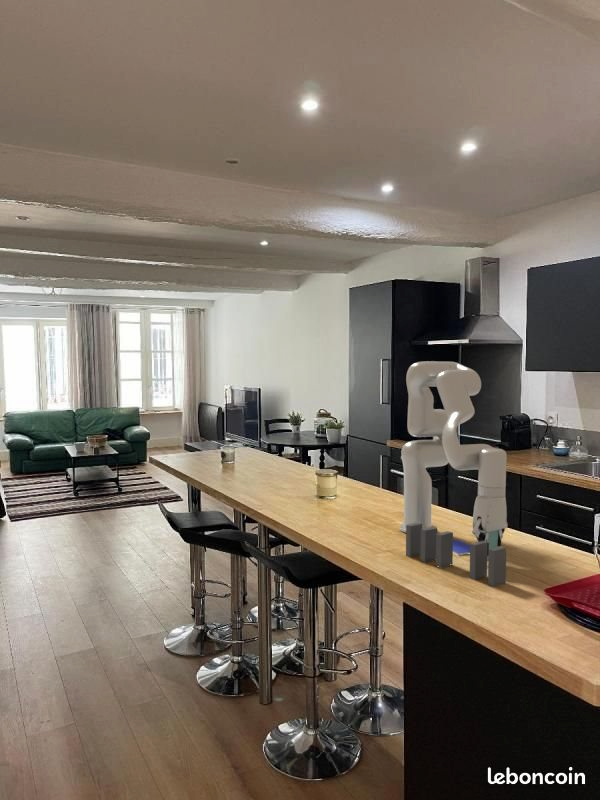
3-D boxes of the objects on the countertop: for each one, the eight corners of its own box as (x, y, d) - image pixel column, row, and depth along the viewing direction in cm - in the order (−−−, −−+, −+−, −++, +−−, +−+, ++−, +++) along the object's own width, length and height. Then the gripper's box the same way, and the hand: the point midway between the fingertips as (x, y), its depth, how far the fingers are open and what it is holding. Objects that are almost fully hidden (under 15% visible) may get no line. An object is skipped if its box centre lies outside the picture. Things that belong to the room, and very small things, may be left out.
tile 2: (420, 561, 179) (420, 529, 179) (432, 558, 182) (432, 526, 182) (425, 562, 178) (425, 530, 177) (436, 559, 181) (437, 528, 180)
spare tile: (481, 560, 175) (482, 527, 175) (492, 556, 178) (493, 525, 177) (486, 561, 174) (487, 529, 173) (497, 558, 177) (498, 526, 176)
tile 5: (469, 578, 164) (470, 543, 164) (481, 574, 167) (482, 540, 167) (474, 580, 163) (475, 545, 163) (486, 576, 166) (487, 542, 165)
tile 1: (405, 555, 184) (406, 524, 184) (417, 553, 187) (417, 522, 186) (410, 557, 183) (410, 526, 182) (421, 554, 185) (422, 523, 185)
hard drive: (436, 541, 196) (458, 552, 184) (458, 539, 199) (481, 549, 187) (436, 546, 196) (458, 557, 184) (458, 543, 199) (481, 554, 187)
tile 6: (487, 584, 160) (488, 549, 159) (499, 580, 162) (500, 545, 162) (493, 586, 158) (494, 550, 158) (505, 582, 161) (506, 547, 160)
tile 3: (435, 566, 174) (436, 533, 174) (447, 563, 177) (448, 531, 177) (440, 568, 173) (441, 535, 172) (452, 564, 176) (452, 532, 175)
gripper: (499, 485, 182) (497, 544, 184) (461, 492, 173) (459, 555, 174) (520, 490, 176) (518, 551, 178) (483, 497, 166) (481, 562, 168)
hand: (489, 552), depth 176 cm, fingers closed on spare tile, 4 cm apart
